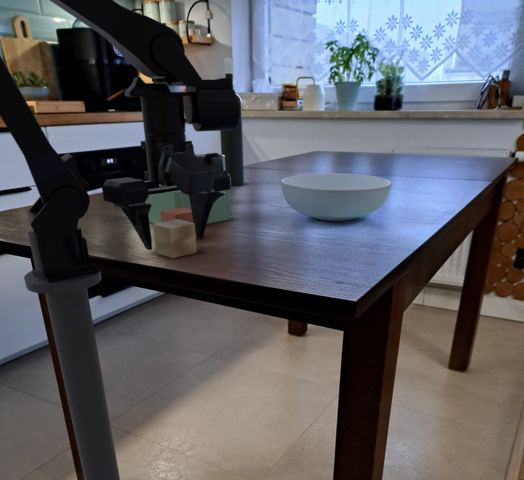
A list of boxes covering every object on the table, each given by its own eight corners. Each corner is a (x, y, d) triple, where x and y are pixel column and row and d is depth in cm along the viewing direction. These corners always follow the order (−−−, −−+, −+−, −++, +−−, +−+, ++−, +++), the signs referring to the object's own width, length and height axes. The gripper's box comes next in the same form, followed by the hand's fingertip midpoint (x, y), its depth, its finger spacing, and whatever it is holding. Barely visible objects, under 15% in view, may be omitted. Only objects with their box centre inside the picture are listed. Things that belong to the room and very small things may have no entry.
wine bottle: (240, 186, 138) (236, 57, 124) (220, 185, 139) (213, 57, 126) (246, 182, 143) (242, 58, 129) (226, 182, 144) (220, 59, 131)
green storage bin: (177, 230, 93) (174, 192, 90) (141, 219, 101) (137, 184, 99) (231, 219, 101) (230, 184, 98) (193, 210, 109) (191, 177, 106)
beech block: (172, 258, 76) (169, 228, 74) (156, 252, 79) (152, 223, 77) (196, 252, 79) (194, 223, 77) (180, 247, 82) (177, 218, 80)
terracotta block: (177, 242, 85) (175, 214, 83) (162, 237, 88) (160, 210, 86) (199, 237, 88) (197, 210, 86) (184, 233, 91) (182, 207, 89)
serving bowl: (346, 234, 88) (349, 192, 85) (259, 217, 101) (258, 181, 98) (408, 215, 102) (412, 178, 99) (324, 202, 115) (325, 169, 112)
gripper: (135, 140, 61) (150, 268, 68) (253, 131, 72) (256, 242, 79) (92, 136, 68) (109, 251, 75) (205, 129, 79) (211, 230, 86)
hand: (175, 243), depth 79 cm, fingers open, 9 cm apart
